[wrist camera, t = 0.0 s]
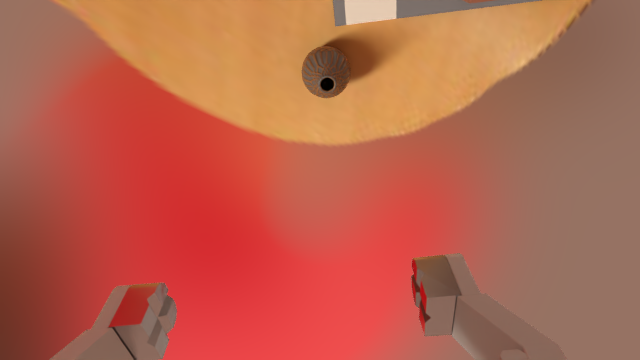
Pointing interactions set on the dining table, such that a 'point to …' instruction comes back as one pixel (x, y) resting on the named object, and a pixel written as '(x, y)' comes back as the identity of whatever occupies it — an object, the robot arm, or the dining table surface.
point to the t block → (476, 1)
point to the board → (402, 8)
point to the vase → (326, 71)
